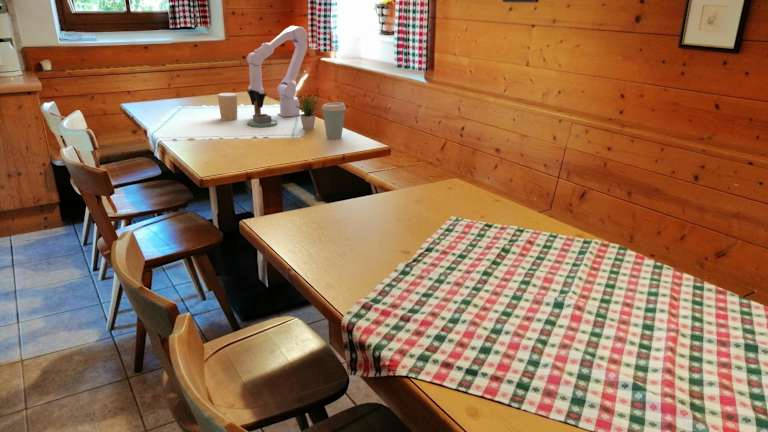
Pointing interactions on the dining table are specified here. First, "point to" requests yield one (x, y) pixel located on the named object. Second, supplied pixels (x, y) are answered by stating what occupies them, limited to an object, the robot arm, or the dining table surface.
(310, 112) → the house plant
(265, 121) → the candle dish
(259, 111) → the walnut peg
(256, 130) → the dining table surface
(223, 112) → the coffee cup
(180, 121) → the dining table surface
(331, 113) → the disposable coffee cup
